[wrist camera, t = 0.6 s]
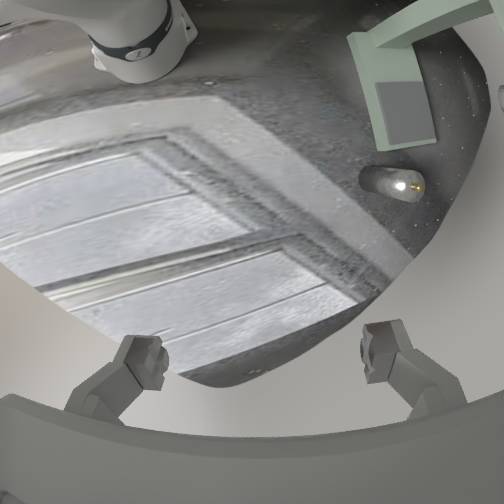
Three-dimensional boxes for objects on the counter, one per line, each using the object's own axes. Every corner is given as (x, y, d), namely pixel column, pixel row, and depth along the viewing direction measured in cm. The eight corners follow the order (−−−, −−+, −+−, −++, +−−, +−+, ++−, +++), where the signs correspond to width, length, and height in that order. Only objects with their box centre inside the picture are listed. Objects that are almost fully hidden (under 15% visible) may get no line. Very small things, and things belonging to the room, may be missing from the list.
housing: (356, 168, 53) (406, 174, 38) (377, 163, 53) (430, 169, 38) (361, 194, 54) (410, 208, 39) (382, 188, 55) (434, 201, 40)
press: (344, 30, 44) (485, -60, 7) (398, 32, 45) (537, -22, 8) (387, 213, 56) (553, 284, 20) (435, 199, 57) (585, 249, 20)
